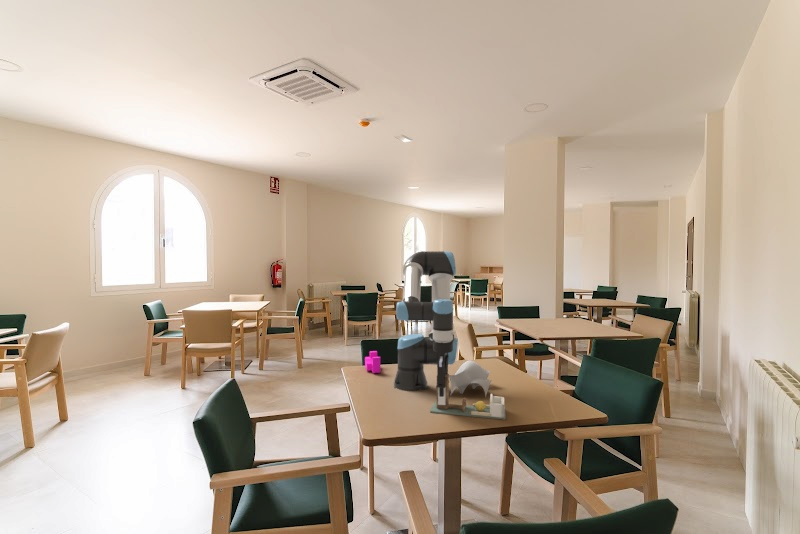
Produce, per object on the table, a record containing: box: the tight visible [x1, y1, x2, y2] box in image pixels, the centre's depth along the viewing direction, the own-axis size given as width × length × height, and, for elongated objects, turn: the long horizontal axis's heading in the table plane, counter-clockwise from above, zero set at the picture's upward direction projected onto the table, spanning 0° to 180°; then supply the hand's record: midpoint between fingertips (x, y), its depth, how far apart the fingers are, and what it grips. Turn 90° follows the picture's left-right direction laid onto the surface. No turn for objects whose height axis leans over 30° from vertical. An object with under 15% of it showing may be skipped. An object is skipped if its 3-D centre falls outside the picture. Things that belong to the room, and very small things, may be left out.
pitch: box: [429, 401, 507, 421], centre depth 148 cm, size 27×9×2 cm, turn 76°
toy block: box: [364, 350, 381, 374], centre depth 206 cm, size 15×6×8 cm, turn 11°
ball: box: [475, 400, 486, 411], centre depth 147 cm, size 4×4×4 cm
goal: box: [489, 393, 505, 418], centre depth 145 cm, size 5×9×5 cm, turn 166°
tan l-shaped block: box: [436, 373, 467, 412], centre depth 149 cm, size 10×6×12 cm, turn 76°
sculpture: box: [449, 359, 492, 399], centre depth 176 cm, size 25×19×10 cm
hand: (442, 402), depth 150 cm, fingers closed on tan l-shaped block, 4 cm apart
